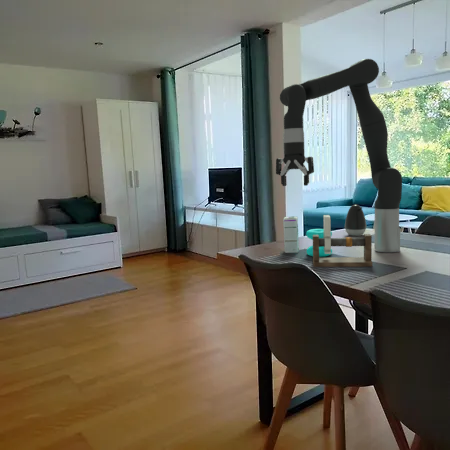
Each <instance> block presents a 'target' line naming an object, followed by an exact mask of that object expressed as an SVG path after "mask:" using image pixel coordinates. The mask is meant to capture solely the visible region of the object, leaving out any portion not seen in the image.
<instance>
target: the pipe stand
mask: <svg viewBox="0 0 450 450" xmlns="http://www.w3.org/2000/svg"><path fill="white" fill-rule="evenodd" d="M372 239H373V237H372V234H370V233H364V234H363V237H353V236H347V237H346V236H345V237H331V247H345V248H348V247H349V248H350V247H351V248H352V247H363V256H362V257H359V256H358V257H356V256H355V257H354V256H353V257H349V256H347V257H345V256H344V257H319V247H325V238H319V235H313V240H312V246H313V256H312V265H313V267H314V268H317V267H318V268H319V267H321V268H322V267H323V268H324V267H325V268H326V267H327V268H328V267H331V268H333V267H335V268H337V267H338V268H339V267H340V268H341V267H345V268H346V267H351V268H352V267H356V268H357V267H360V268H361V267H363V268H364V267H373V263H374V262H373V261H372V259H373V258H372V255H373V254H372V246H373V245H372V243H373V242H372Z"/></svg>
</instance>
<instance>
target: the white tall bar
mask: <svg viewBox="0 0 450 450" xmlns="http://www.w3.org/2000/svg"><path fill="white" fill-rule="evenodd" d="M331 228H332V227H331V216H330V214H323V229H324V238H325V247H324V252H325V254H331V249H332V246H331V238H332V236H331V232H332V231H331ZM331 255H332V254H331Z"/></svg>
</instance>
